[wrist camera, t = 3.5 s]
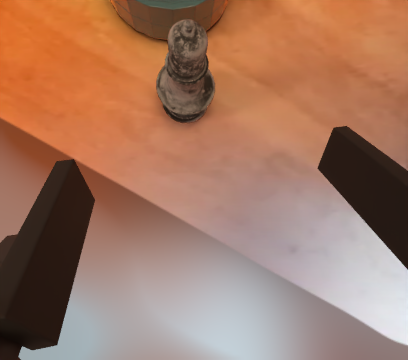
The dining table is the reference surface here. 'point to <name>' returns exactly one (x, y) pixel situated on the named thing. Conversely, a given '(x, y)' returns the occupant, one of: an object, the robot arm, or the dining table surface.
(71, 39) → the dining table surface
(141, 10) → the bowl
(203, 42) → the salt shaker
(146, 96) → the dining table surface
